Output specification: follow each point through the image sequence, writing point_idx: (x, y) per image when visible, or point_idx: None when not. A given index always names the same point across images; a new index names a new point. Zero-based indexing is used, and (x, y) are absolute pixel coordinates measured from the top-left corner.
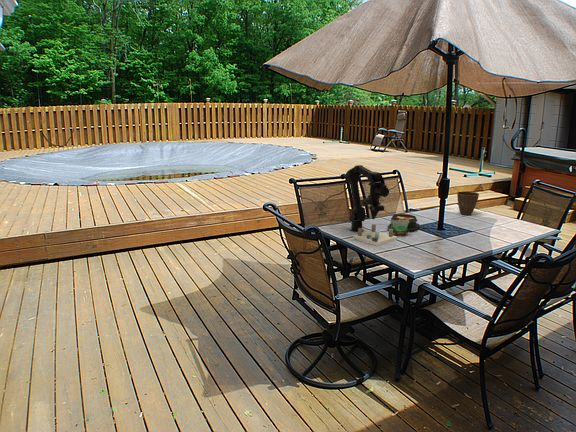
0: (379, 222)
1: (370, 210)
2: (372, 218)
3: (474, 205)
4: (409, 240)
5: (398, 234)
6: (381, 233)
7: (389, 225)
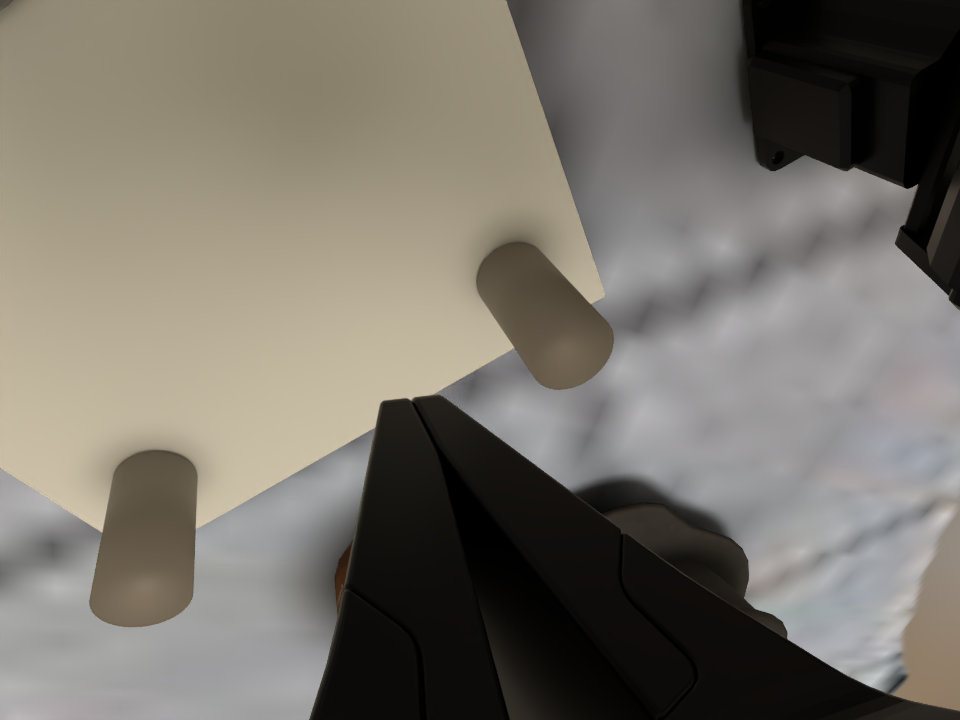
0: (876, 454)
1: (771, 686)
2: (389, 411)
3: None
4: (115, 639)
5: (346, 570)
6: (372, 377)
7: (682, 534)
